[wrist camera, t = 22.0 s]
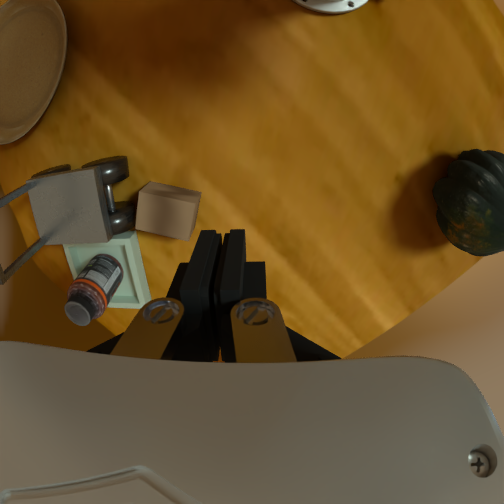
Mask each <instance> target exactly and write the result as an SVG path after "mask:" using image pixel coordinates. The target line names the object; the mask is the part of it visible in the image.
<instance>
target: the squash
mask: <svg viewBox="0 0 504 504" xmlns="http://www.w3.org/2000/svg"><path fill="white" fill-rule="evenodd" d="M447 171H448V178H446V177H445V178H442V179H440V180H438V181H437V182H436V183H435V185H434V187H433V196H434V199H435V201H436V203H437V205H438V208H437V213H436V217H437V221H438V224H439V226H440V228H441V230H442V232H443V233H444V235H445V236H446V237H447V239H448V240H449V241H450V242H451V243H452V244H453V245H454V246H456V247H457V248H459V249H461V250H463V251H465V252H468V253H470V254H471V255H474V256H488V255H492V254H495V253H498V252H501V251H504V154H502V153H500V152H496V151H490V150H487V151H482V150H479V149H473V150H470V151H463V152H462V153H461V154H460V155H459V157H458V160H457V161H453V162H452V163H450V165H449V166H448V170H447Z"/></svg>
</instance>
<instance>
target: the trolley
mask: <svg viewBox="0 0 504 504" xmlns="http://www.w3.org/2000/svg"><path fill="white" fill-rule="evenodd" d="M128 177H129V169H128V161H127V156H114V157H108V158H103V159H99V160H96V161H92V162H89V163H87V164H85V165H83V166H82V167H81V169H75V170H71V167H70V165H69V164H66V165H60V166H56V167H52V168H49V169H46V170H43V171H41V172H39V173H36V174H34V175H33V176H32V177H31V179H29V180H27V181H26V184H25V185H23V186H21V187H19V188H17V189H16V190H14V191H12V192H10V193H9V194H7V195H5V196H4V197H2V198H0V208H1V207H3V206H4V205H6V204H7V203H9V202H10V201H12V200H14V199H15V198H17V197H19V196H20V195H22V194H24V193H25V192H27V191H28V194H29V198H30V203H31V207H32V211H33V214H34V218H35V222H36V225H37V229H38V232H39V236H40V239H38V240H37V241H36V242H35V243H34V244H33V245H32V246H30V247H29V248H28V249H27V250H26V251H25V252H24V253H23V254H22V255H20V256H19V257H18V258H17V259H16V260H15V261H14V262H13V263H12V264H11V265H10V266H9V267H8V268H7V269H6V270H5V271H4V272H3V270H2V267H1V265H0V284H2V285H3V284H4V283H5V282H6V281H7V280H8V279H9V278H10V277H11V276H12V275H13V274H14V273H15V272H16V271H17V270H18V269H19V268H20V267H21V266H22V265H23V264H24V263H25V262H26V261H27V260H28V259H29V258H30V257H31V256H33V255H34V254H35V253H36V252H37V251H38V250H39V249H40V248H41V247H42V246H43V245H55V244H82V243H108V242H109V241H110V240H111V239H112V238H113V235H117V234H121V233H124V232H126V231H128V230H130V229H132V228H133V227H134V226H135V225H136V213H135V208H134V204H133V203H132V202H128V201H121V202H114V196H113V191H112V185H111V184H113V183H116V182H119V181H122V180H124V179H126V178H128ZM103 186H104V188H103ZM104 189H105V194H106V199H105V194H104ZM106 200H107V204H106Z"/></svg>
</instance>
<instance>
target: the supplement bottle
mask: <svg viewBox="0 0 504 504" xmlns="http://www.w3.org/2000/svg"><path fill="white" fill-rule="evenodd" d="M123 275H124V271H123V268H122V266H121V264H120V263H119V261H118V260H117V259H116V258H114V257H113V256H111V255H109V254H98V255H96V256H94V257H93V258H92V259H91V260H90V262H89V263H88V264H87V265H86V266H85V268H84V269H83V270H82V271H81V273H80V274H79V275H78V276H77V278H76V279H75V280H74V281H73V283H72V284H71V285H70V287H69V289H68V292H67V298H68V301H67V303H66V305H65V313H66V315H67V316H68V317H69V319H70V320H71V321H73V322H74V323H75V324H78V325H81V326H85V325H88V324H89V323H90V321H91V320H92V319H96V318H98V317H100V316H101V315H102V314H103V313H104V311H105V309H106V308H107V306H108V304H109V302H110V301H111V299H112V297H113V295H114V294H115V292H116V290H117V289H118V287H119V285H120V284H121V282H122V280H123Z"/></svg>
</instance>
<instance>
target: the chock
mask: <svg viewBox="0 0 504 504" xmlns="http://www.w3.org/2000/svg"><path fill="white" fill-rule="evenodd" d="M201 193H202V192H198V191H193V190H189V189H184V188H180V187H175V186H170V185H166V184H161V183H156V182H151V181H150V182H149V183H148V184H147V185H146V186H145V187H144V188H142V189H141V190H140V191H139V197H138V206H137V216H136V227H135V229H138V230H142V231H146V232H150V233H155V234H159V235H163V236H168V237H172V238H176V239H180V240H185V241H189V239H190V237H191V234H192V232H193V230H194V227H195V223H196V218H197V213H198V207H199V202H200V198H201Z"/></svg>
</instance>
